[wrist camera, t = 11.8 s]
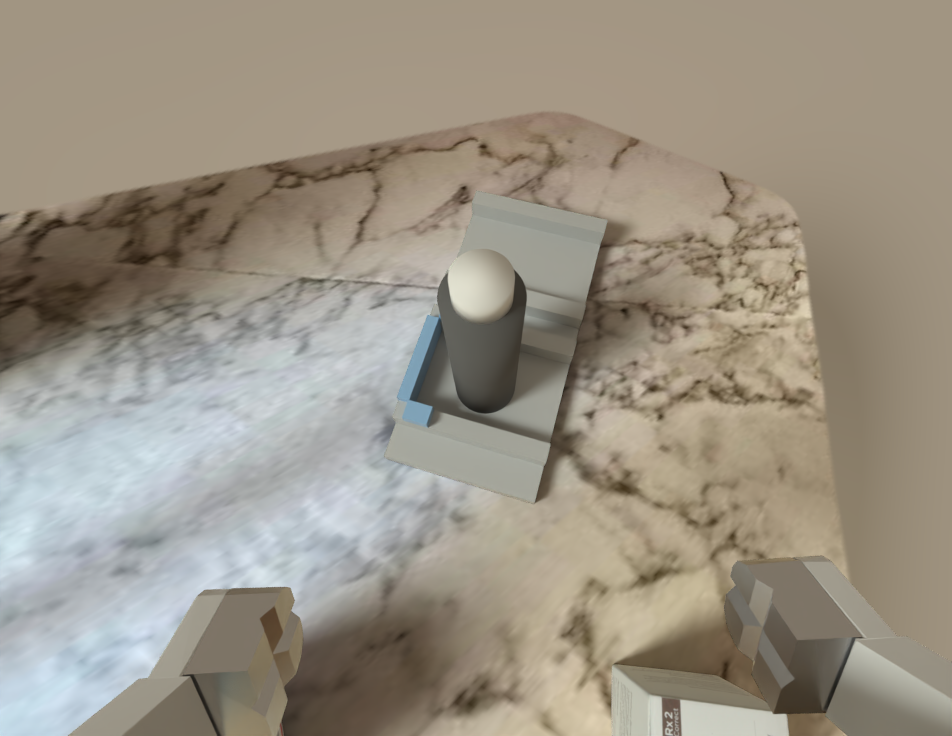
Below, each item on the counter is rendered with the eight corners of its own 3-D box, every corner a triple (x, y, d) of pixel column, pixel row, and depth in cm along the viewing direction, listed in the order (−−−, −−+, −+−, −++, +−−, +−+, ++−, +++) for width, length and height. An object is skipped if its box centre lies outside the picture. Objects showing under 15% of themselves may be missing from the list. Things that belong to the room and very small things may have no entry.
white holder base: (387, 459, 33) (376, 449, 30) (478, 209, 40) (477, 179, 36) (533, 504, 31) (537, 498, 28) (601, 238, 38) (611, 209, 35)
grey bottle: (448, 404, 33) (420, 306, 20) (465, 351, 34) (450, 228, 21) (506, 420, 32) (515, 330, 19) (521, 365, 34) (539, 248, 21)
